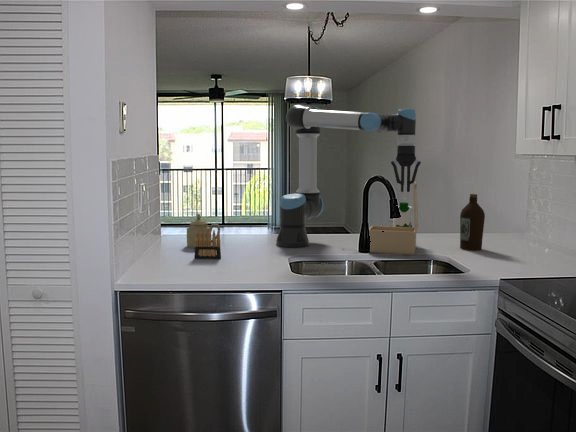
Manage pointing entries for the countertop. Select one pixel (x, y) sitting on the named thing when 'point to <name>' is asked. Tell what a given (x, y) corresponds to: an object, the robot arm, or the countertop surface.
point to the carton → (392, 240)
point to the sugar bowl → (198, 226)
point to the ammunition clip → (202, 247)
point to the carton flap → (415, 205)
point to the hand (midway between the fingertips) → (405, 199)
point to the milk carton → (404, 216)
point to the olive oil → (471, 225)
